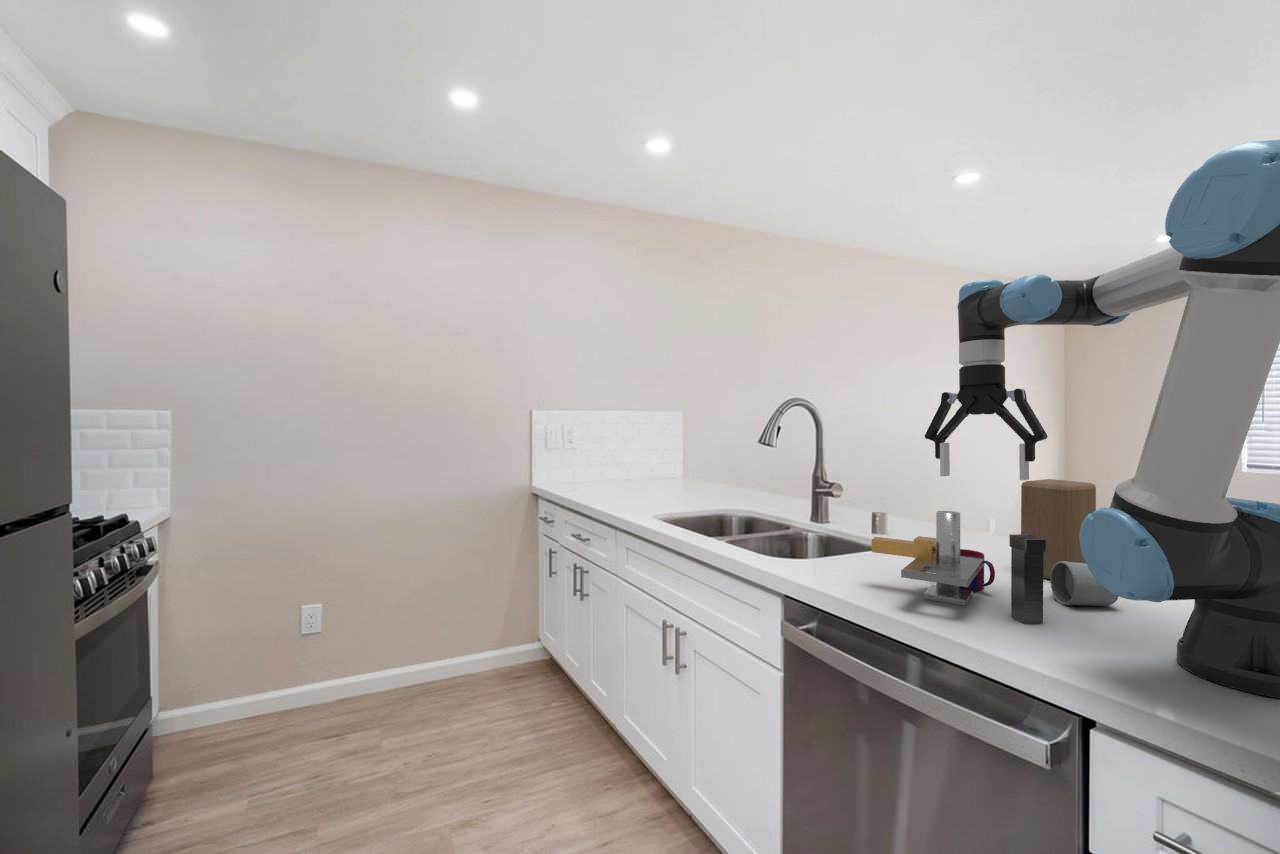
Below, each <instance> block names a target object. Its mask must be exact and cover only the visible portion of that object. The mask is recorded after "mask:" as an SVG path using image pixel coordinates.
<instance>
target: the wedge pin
mask: <svg viewBox="0 0 1280 854" xmlns="http://www.w3.org/2000/svg"><path fill="white" fill-rule="evenodd" d="M1009 547H1011V551H1010V553H1011V558H1010V559H1011V560H1010V562H1011V567H1010V568H1011V570H1010V573H1011V574H1010V578H1011V579H1010V583H1011V587H1010V588H1011V589H1010V593H1011V594H1010V600H1011V601H1010V607H1011V608H1010V617H1011V619H1013V620H1015V621H1017V622H1019V623H1021V624H1023V625H1038V624H1039V625H1042V624H1044V578H1043V552H1046V539H1043V538H1039V537H1036V536H1032V535H1029V534H1021V533H1020V534H1017V533H1016V534H1009Z"/></svg>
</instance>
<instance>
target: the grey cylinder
mask: <svg viewBox="0 0 1280 854" xmlns="http://www.w3.org/2000/svg"><path fill="white" fill-rule="evenodd" d="M1049 581H1050V588H1051V591H1052V595H1053V596H1054V598H1055V600H1056V601H1057V602H1058V603H1060V604H1061V605H1064V606H1083V607H1084V606H1090V607H1091V606H1093V607H1094V606H1095V607H1104V606H1105V607H1106V606H1111V605H1113V604H1114V603H1116V602H1117V601H1118V599H1119V596H1117V595H1115V594H1113V593H1112V592H1110V591H1109V590H1107V589H1106V588H1105V587H1103V586H1102V585H1101V584H1100V583H1099V582H1098V581H1097V580H1096V578H1095V577H1094V576H1093V575H1092V573H1091V572H1090V570H1089V569H1088V565H1087V564H1085V563H1075V562H1066V561H1060V562H1057V563H1056V564H1055V565H1054V566H1053V568H1052V571H1051V575H1050V580H1049Z"/></svg>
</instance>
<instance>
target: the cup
mask: <svg viewBox="0 0 1280 854" xmlns="http://www.w3.org/2000/svg"><path fill="white" fill-rule="evenodd" d="M960 556H963V557H971V558H979V559H984V564H986V566H987V567H988V569H989V579H988V581H987V582H985V565H984V566H983V567H982V568H981V570H980V571H979V573H978V574H977V575H976V577H975V578H974V579H973V581H972V582H971V583H970V585H969V586H968V587H962V586H960V589H963V590H969V591H972V592H981V591H983V590H985V587H988V586H991V585H992V584H993V583H994V581H995V578H996V571H995V567H994V565H993V564H992V562H990V561H989V560H985V554H984V553H983V552H981V551H977V550H972V549H965V548H960Z"/></svg>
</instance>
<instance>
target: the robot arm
mask: <svg viewBox="0 0 1280 854" xmlns="http://www.w3.org/2000/svg"><path fill="white" fill-rule="evenodd" d="M1165 216H1166V217H1165V221H1164V222H1165V223H1164V230H1165V231H1164V232H1165V235H1166V237H1170V239H1169V240H1168V242H1169V245H1170V247H1169V248H1166V249H1164V250H1161V251H1159V252H1156V253H1153V254H1152V255H1148V256H1145V257H1144V258H1141V259H1138V260H1136V261H1133V262H1130V263H1127V264H1125V265H1123V266H1120V267H1117V268H1115V269H1112V270H1110V271H1107V272H1105V273H1102V274H1101V275H1100V274H1099V275H1097V276H1094V277H1092V278H1088V279H1083V280H1079V279H1078V280H1074V279H1073V280H1055V279H1054V278H1051V277H1050V276H1048V275H1046V274H1041V273H1038V274H1036V273H1035V274H1032V275H1027V276H1026V275H1025V276H1021V277H1019V278H1016V279H1014V280H1012V281H1010V282H1007V283H1005V284H1004V283H1003V282H1002V281H1001V280H998V279H981V280H976V281H973V282H972V281H970V282H968V283H965V284H963V285H962V286H961V287H960V288H959V291H958V303H957V314H958V315H957V316H958V317H957V319H958V320H957V321H958V343H959V344H958V364H959V365H960V366H961V365H962V366H961V367H960V368H959V370H958V372H959V373H958V381H959V385H958V386H959V390H958V392H957V393H952V392H950V391H948V392H945V391H944V392H942V393H941V396H940V397H941V398H940V404H939V406H938V408H937V410H936V412H935V415H934V416H933V418H932V420H931V422H930V424H929V426H928V428H927V430H926V432H925V434H924V438H925V439H926V440H930V441H932V442H934V453H935V455H934V456H935V459H937V460H939V468H940V469H939V477H948V476H949V477H950V474H951V471H950V468H951V466H950V461H951V460H950V457H951V456H950V442H947V441H946V440H947V439H948V438H949V437H950V436H951V435H952V434H953V433H954V431H956V429H957V428H958V427H959V426H960V424H961V423H962V422H963V421H965V419H966V418H967V417H968V416H969V415H973V416H974V415H975V416H977V415H994V414H996V415H997V416H999V417H1000V419H1001V420H1002V421H1003V422H1005V424H1007V426H1008V427H1009V428H1010V429H1012V430H1013V432H1014V433H1015V434H1016V435H1017V436H1018V437H1019V438H1020V439H1021V440H1022V441H1023V443H1019V444H1018V448H1019V449H1018V450H1019V451H1018V452H1019V454H1018V455H1019V456H1018V457H1019V458H1018V459H1019V462H1018V463H1019V481H1030V462H1031V463H1032V462H1034V461H1035V460H1036V443H1037V442H1040V441H1044V440H1046V439H1048V434H1047V432H1046V430H1045V429H1044V427H1043V426H1042V424H1041V422H1040V420H1039V419H1038V417H1037V416H1036V414H1035V412H1034V411H1033V408H1031V405H1030V403H1029V401H1028V400H1027V399H1028V398H1027V393H1026V390H1025V389H1024V388H1015V389H1013V390H1007V388H1006V366H1004V365H1003V364H1002V363H1004V362H1005V360H1006V352H1005V351H1006V343H1005V342H1006V341H1005V340H1006V336H1005V335H1006V334H1005V330H1006V329H1007V328H1011V327H1016V326H1023V325H1024V326H1026V325H1027V326H1028V325H1029V326H1030V325H1033V326H1045V325H1047V326H1057V325H1058V326H1060V325H1061V326H1062V325H1063V326H1064V325H1069V326H1070V325H1071V326H1094V327H1099V326H1106V325H1107V326H1108V325H1115V324H1119V323H1121V322H1122V321H1124V320H1125V319H1126V318H1127V317H1128V316H1130V314H1131V313H1136V312H1139V311H1141V310H1144V309H1150V308H1152V307H1155V306H1159V305H1162V304H1166V303H1169V302H1172V301H1176V300H1179V299H1183V298H1186V299H1187V300H1186V303H1185V306H1184V310H1183V312H1182V316H1181V320H1180V323H1179V327H1178V330H1177V334H1176V335H1175V339H1174V343H1173V347H1172V351H1171V352H1170V357H1169V359H1168V362H1167V363H1168V364H1167V366H1166V370H1165V373H1164V376H1163V381H1162V384H1161V387H1160V391H1159V393H1158V398H1157V401H1156V404H1155V407H1154V410H1153V414H1152V417H1151V421H1150V423H1149V428H1148V430H1147V434H1146V438H1145V441H1144V443H1143V446H1142V447H1143V448H1142V451H1141V454H1140V458H1139V459H1138V460H1139V462H1138V465H1137V467H1136V471H1135V475H1134V476H1133V477H1132V478H1128V479H1127V480H1124V481H1122V482H1120V483H1117V485H1116V486H1115V489H1114V493H1113V496H1112V499H1111V502H1110V506H1109V507H1099V508H1098V509H1096V510H1095V511H1094V512H1093V513H1090V514H1088V515H1087V516H1086V517H1085V519H1084V521H1083V522H1082V525H1081V528H1080V538H1079V540H1080V548H1081V552H1082V555H1083V558H1084V560H1085V561H1086V563H1087V565H1088V569H1089V570H1090V572H1091V573H1092V575H1093V576H1094V577H1095V578H1096V580H1097V581H1098V582H1099V583H1100V584H1101V585H1102V586H1103V587H1105V588H1106V589H1107V590H1109V591H1110V592H1112V593H1113V594H1115V595H1117V596H1119V597H1120V598H1122V599H1125V600H1129V601H1130V600H1131V601H1147V602H1151V603H1162V602H1165V601H1189V600H1190V601H1193V600H1194V607H1193V609H1192V612H1191V614H1190V616H1189V618H1188V620H1187V622H1186V625H1185V627H1184V630H1183V634H1182V637H1180V638H1179V639H1178V641H1177V643H1176V661H1177V663H1178V664H1179V665H1180V666H1181V667H1182V668H1184V669H1185V670H1187V671H1189V672H1190V673H1191V674H1194V675H1197V676H1199V677H1201V678H1204V679H1206V680H1208V681H1211V682H1214V683H1217V684H1220V685H1223V686H1226V687H1230V688H1232V689H1236V690H1239V691H1244V692H1247V693H1251V694H1257V695H1261V696H1266V697H1270V698H1276V699H1280V503H1275V502H1274V503H1273V502H1268V501H1258V500H1251V499H1243V498H1237V497H1236V498H1235V497H1227V493H1228V490H1229V486H1230V484H1231V481H1232V478H1233V476H1234V473H1235V469H1236V468H1237V465H1238V462H1239V460H1240V456H1241V453H1242V451H1243V448H1244V445H1245V442H1246V439H1247V436H1248V433H1249V431H1250V428H1251V425H1252V422H1253V420H1254V417H1255V414H1256V412H1257V411H1256V410H1257V408H1258V404H1259V403H1260V400H1261V397H1262V394H1263V391H1264V388H1265V385H1266V383H1267V380H1268V378H1269V377H1268V376H1269V374H1270V372H1271V369H1272V366H1273V363H1274V360H1275V357H1276V354H1277V352H1278V348H1279V346H1280V138H1278V139H1272V140H1271V139H1270V140H1258V141H1249V142H1248V141H1247V142H1243V143H1239V144H1236V145H1233V146H1231V147H1228V148H1226V149H1224V150H1221V151H1220V152H1218V153H1216V154H1214V155H1212V156H1211V157H1210V158H1207V159H1206V161H1204V162H1203V164H1202V165H1201V166H1200V167H1198V168H1196V169H1194V170H1193V171H1192V172H1191V173H1190V174H1189V175H1188V176H1187V177H1186V178H1185V179H1184V181H1183V182H1182V184H1181V185H1180V186H1179V187H1178V189H1177V190H1176V192H1175V194H1174V196H1173V198H1172V199H1171V202H1170V203H1169V207H1168V208H1167V212H1166V215H1165ZM1008 398H1010V400H1011V402H1014V403H1015V404H1016V407H1017V408H1018V410H1019V412H1020V413H1021V415H1022V417H1023V419H1024V420H1025V422H1026V424H1027V425H1028V427H1029V429H1030V430H1031V432H1032V433H1033V434H1032V433H1031V432H1030V431H1029V430H1028V429H1027V428H1026V427H1025V426H1024V425H1023V424H1022V423H1021V422H1020V420H1018V419H1017V418H1016V417H1015V416H1014V414H1012V413H1011V412H1010V410H1009V409H1008V408H1007V407H1006V406H1005V405H1004V403H1005V402H1006V401H1007V400H1008ZM956 401H958V402H959V404H961V405H960V406H959V408H958V409H957V410H956V412H955V414H954V415H953V416H952V417H951V418H950V419H949V420H948V421H947V423H946V424H945V425H944V426H943V427H942V425H943V424H944V422H945V420H946V417H947V416H948V414H949V412H950V410H951V408H952V405H953V404H955V403H956ZM941 428H942V429H941ZM1119 597H1118V598H1119Z"/></svg>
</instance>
